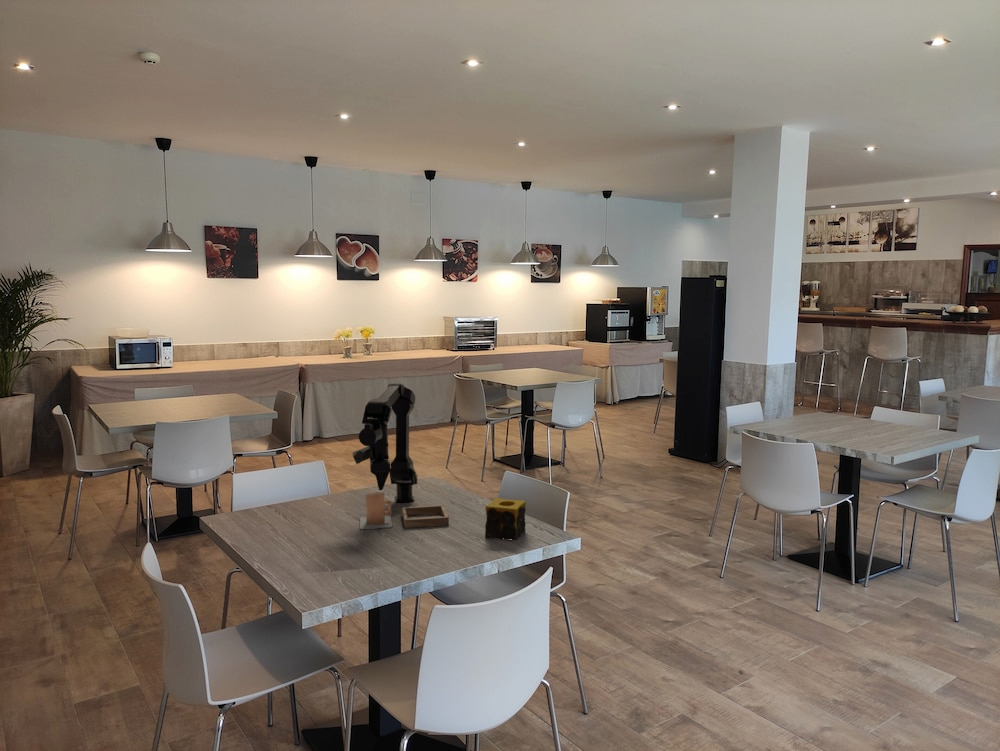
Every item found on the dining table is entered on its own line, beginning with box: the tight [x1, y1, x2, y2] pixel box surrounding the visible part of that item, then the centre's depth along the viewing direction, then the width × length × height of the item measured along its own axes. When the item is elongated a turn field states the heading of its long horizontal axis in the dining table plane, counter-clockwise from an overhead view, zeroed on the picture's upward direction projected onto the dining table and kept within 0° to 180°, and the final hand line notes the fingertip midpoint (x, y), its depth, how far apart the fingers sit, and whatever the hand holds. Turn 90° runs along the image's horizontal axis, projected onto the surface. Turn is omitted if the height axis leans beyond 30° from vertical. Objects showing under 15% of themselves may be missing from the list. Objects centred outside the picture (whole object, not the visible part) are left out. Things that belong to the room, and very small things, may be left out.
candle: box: [484, 498, 527, 541], centre depth 222 cm, size 10×10×10 cm
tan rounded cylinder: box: [365, 491, 392, 525], centre depth 234 cm, size 6×8×9 cm
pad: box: [359, 514, 393, 531], centre depth 234 cm, size 12×10×1 cm
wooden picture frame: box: [401, 504, 450, 529], centre depth 237 cm, size 14×14×2 cm
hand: (380, 486), depth 236 cm, fingers open, 9 cm apart
